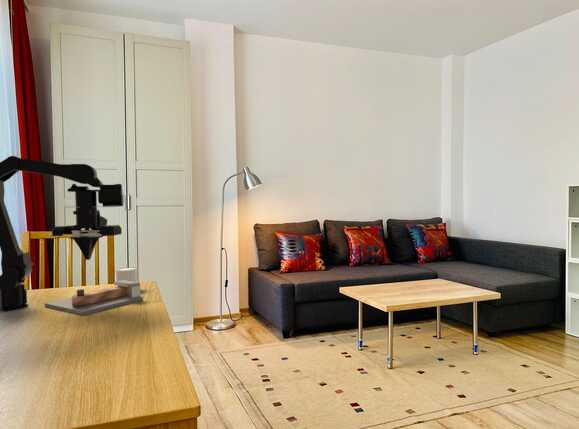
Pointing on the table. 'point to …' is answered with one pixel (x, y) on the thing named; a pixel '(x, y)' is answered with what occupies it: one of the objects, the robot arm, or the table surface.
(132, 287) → the keeper
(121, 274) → the white pedestal piece
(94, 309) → the board
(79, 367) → the table surface
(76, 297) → the link
